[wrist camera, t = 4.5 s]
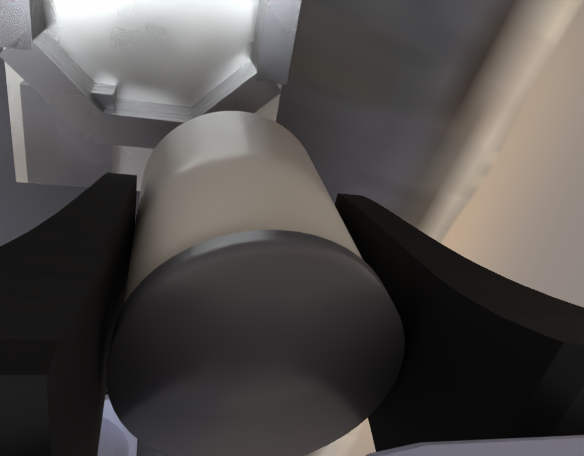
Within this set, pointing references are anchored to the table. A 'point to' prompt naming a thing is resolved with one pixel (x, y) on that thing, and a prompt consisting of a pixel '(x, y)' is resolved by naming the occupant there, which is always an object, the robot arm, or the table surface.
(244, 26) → the square housing with collar
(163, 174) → the lens
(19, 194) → the table surface
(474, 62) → the table surface
